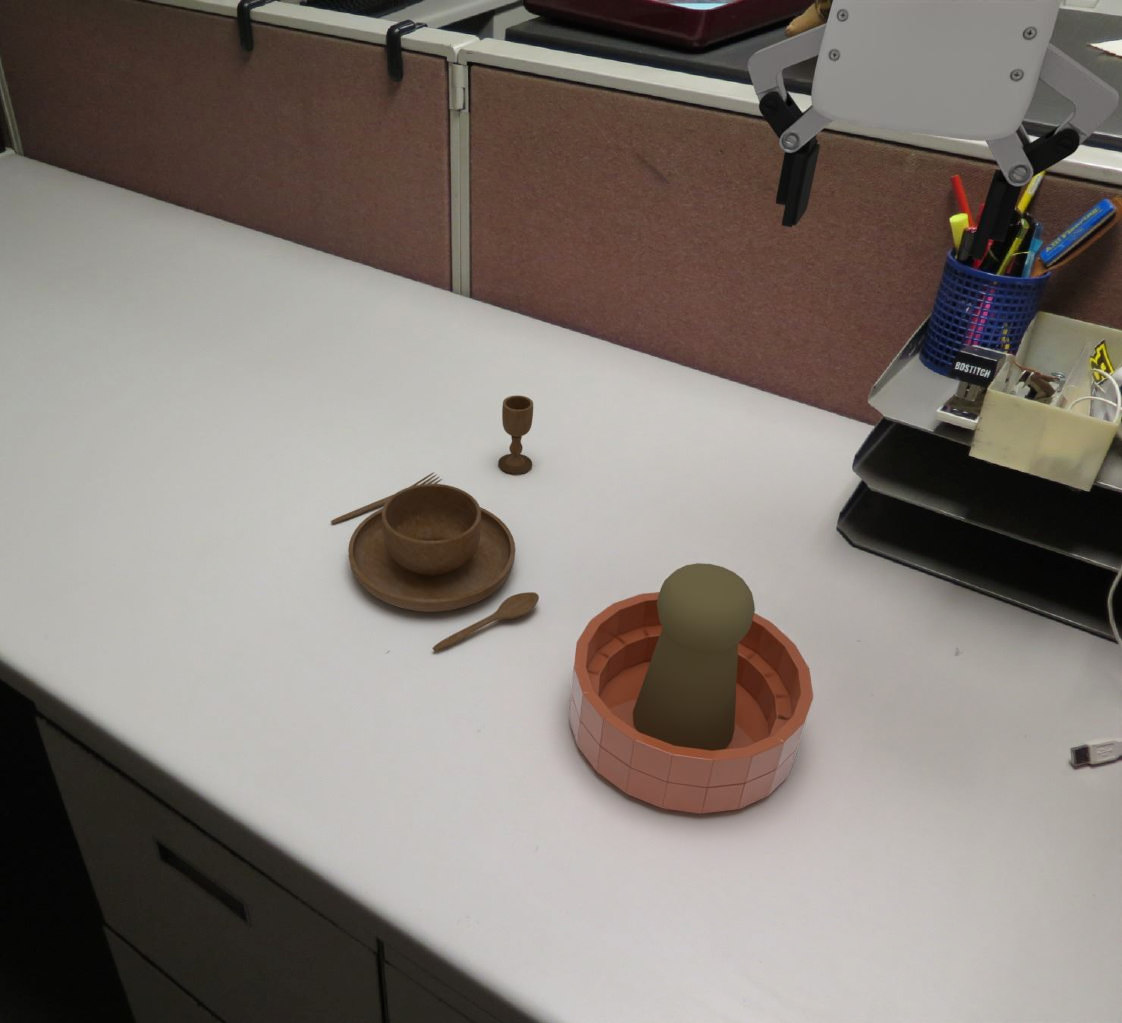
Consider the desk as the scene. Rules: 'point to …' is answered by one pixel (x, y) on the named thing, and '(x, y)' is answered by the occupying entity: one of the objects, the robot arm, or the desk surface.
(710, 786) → the bowl
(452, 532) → the place setting
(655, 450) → the desk surface
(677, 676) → the cork
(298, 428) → the desk surface
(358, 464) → the desk surface
